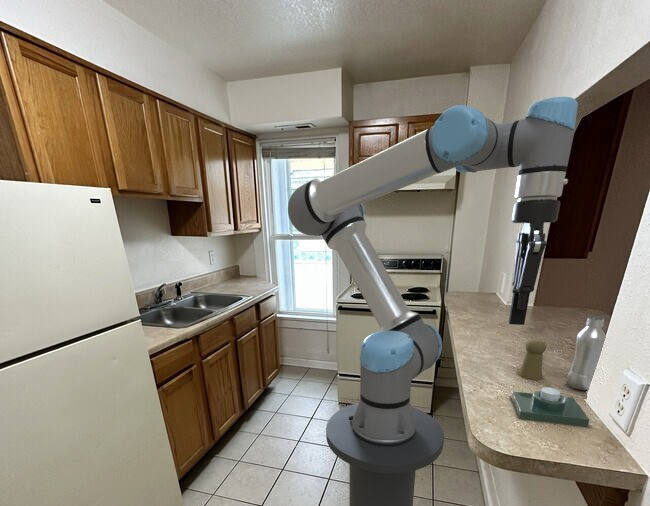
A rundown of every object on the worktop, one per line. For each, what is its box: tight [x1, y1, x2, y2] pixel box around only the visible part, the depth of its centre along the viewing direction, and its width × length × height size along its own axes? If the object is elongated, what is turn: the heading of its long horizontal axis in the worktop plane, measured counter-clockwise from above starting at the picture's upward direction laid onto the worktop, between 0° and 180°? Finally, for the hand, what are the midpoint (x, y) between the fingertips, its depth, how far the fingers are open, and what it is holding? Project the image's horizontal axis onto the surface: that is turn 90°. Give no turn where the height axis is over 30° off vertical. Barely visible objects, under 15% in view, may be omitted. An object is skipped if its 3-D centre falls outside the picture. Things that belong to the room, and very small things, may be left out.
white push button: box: [540, 386, 562, 402], centre depth 85 cm, size 4×4×2 cm
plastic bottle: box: [566, 316, 607, 391], centre depth 95 cm, size 6×7×20 cm
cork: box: [518, 339, 547, 381], centre depth 105 cm, size 6×6×11 cm
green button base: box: [511, 390, 590, 428], centre depth 86 cm, size 14×11×4 cm
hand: (516, 323), depth 73 cm, fingers closed
